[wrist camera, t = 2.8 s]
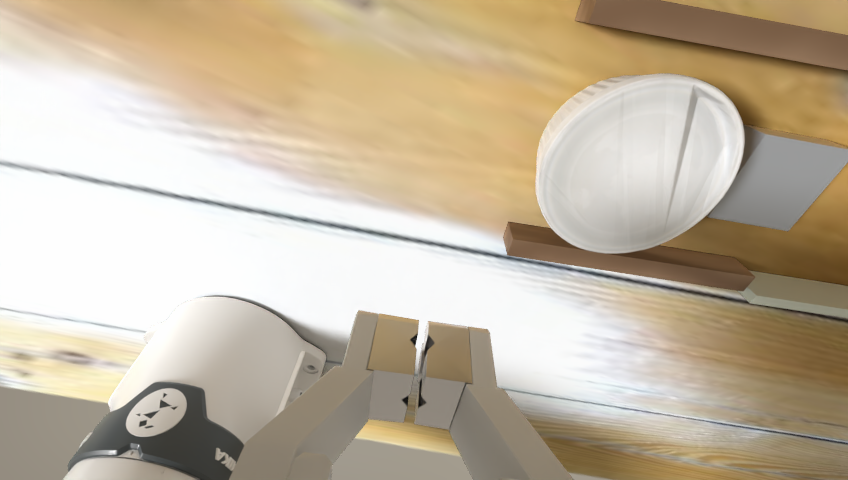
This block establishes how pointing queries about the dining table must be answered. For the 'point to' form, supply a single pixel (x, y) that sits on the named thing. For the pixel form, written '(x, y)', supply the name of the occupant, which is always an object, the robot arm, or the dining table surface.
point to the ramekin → (637, 161)
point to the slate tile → (779, 178)
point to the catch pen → (797, 294)
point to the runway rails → (645, 12)
